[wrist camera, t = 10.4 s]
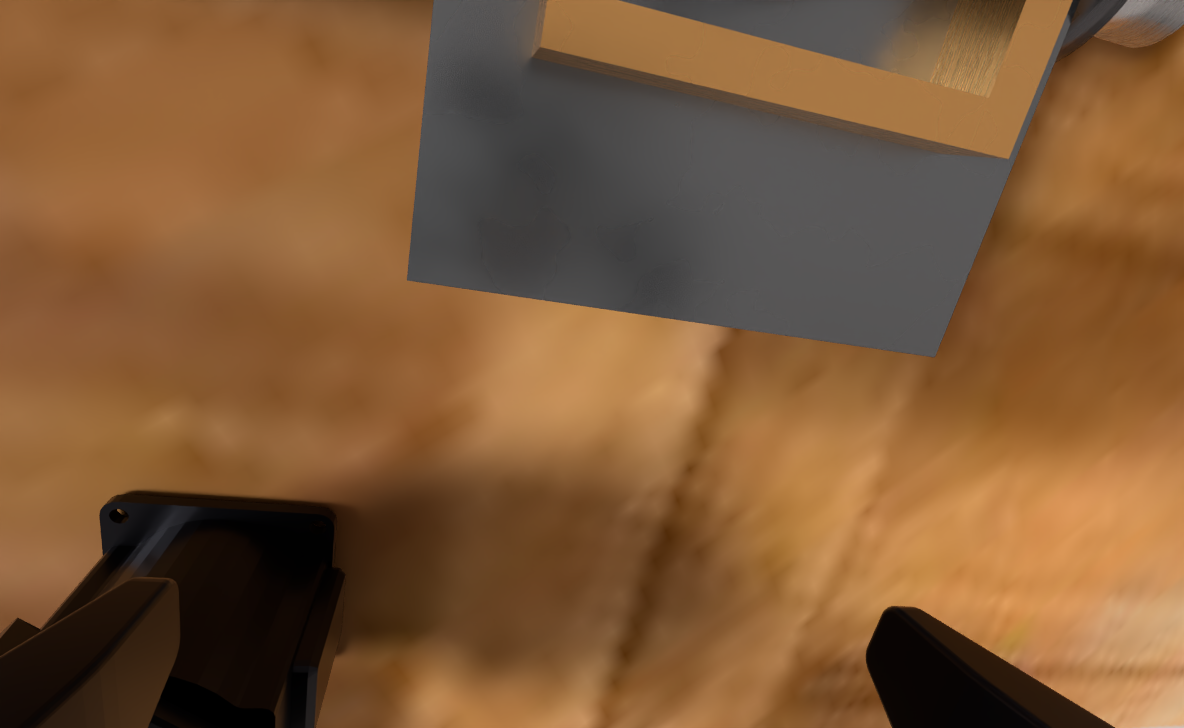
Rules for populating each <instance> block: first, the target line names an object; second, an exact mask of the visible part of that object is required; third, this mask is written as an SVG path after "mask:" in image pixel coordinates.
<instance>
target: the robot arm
mask: <svg viewBox="0 0 1184 728" xmlns="http://www.w3.org/2000/svg"><path fill="white" fill-rule="evenodd" d="M117 509H121V510H124V511H125V512H127V513H128V516H126V515H122V514H120V513H119V512H118V511H117ZM313 521H321V522H323V523H324V524H325V526H322V527H319V526H316V525H315V524H314V523H313ZM100 526H101V538H102V549H103V557H102V558H101V559H100V560H99V561H98V562H97V563H96V565H95V566H94V567H93V568H92V569H91V570H90V572H89V573H88V574H87V575H86V576H85V577H84V579H83V580H82V581H81V582H80V583H79V584H78V586H77V587H76V588H75V589H74V590H73V591H72V593H71V594H70V595H69V596H68V597H67V598H66V600H65V601H64V602H63V603H62V604H61V605H60V607H59V608H58V609H57V610H56V611H55V612H54V614H53V615H52V616H51V617H50V618H49V619H48V621H47V622H46V623H45V624H44V625H43V626H42V627H41V629H39V628H37V627H35V626H33V625H31V624H29V623H27V622H25V621H23V620H21V619H19V618H16V619H15V620H14V621H13V622H12V623H11V624H10V625H9V626H8V627H7V628H6V629H4V630H3V631H2V632H1V633H0V728H316V725H317V721H318V717H319V713H320V710H321V706H322V702H323V699H324V695H325V691H326V687H327V684H328V680H329V676H330V672H331V669H332V665H333V661H334V658H335V654H336V650H337V646H338V643H339V639H340V635H341V631H342V620H343V606H344V593H345V579H346V574H345V573H344V572H343V571H342V569H341V568H335V567H334V560H335V545H336V529H337V518H336V515H335V514H334V512H333V511H331V510H330V509H328V508H324V507H316V506H300V505H285V504H269V503H254V502H238V501H222V500H207V499H191V498H176V497H160V496H145V495H129V494H122V495H116V496H114V497H112V498H111V499H110V500H109V501H108V502H107V503H106V504H105V505H104V506H103V507H102V509H101V510H100ZM866 664H867V668H868V671H869V673H870V676H871V678H872V680H873V683H874V685H875V688H876V690H877V693H878V695H879V697H880V700H881V702H882V705H883V707H884V709H885V712H886V714H887V717H888V719H889V722H890V724H891V726H892V728H1115V727H1113V726H1112V725H1110V724H1108V723H1107V722H1105V721H1103V720H1102V719H1100V718H1098V717H1097V716H1095V715H1093V714H1092V713H1090V712H1089V711H1087V710H1085V709H1084V708H1082V707H1080V706H1079V705H1077V704H1075V703H1074V702H1072V701H1070V700H1069V699H1067V698H1066V697H1064V696H1062V695H1061V694H1059V693H1057V692H1056V691H1054V690H1052V689H1051V688H1049V687H1047V686H1046V685H1044V684H1042V683H1041V682H1039V681H1038V680H1036V679H1034V678H1033V677H1031V676H1029V675H1028V674H1026V673H1024V672H1023V671H1021V670H1019V669H1018V668H1016V667H1015V666H1013V665H1011V664H1010V663H1008V662H1006V661H1005V660H1003V659H1001V658H1000V657H998V656H996V655H995V654H993V653H992V652H990V651H988V650H987V649H985V648H983V647H982V646H980V645H978V644H977V643H975V642H973V641H972V640H970V639H968V638H967V637H965V636H964V635H962V634H960V633H959V632H957V631H955V630H954V629H952V628H950V627H949V626H947V625H945V624H944V623H942V622H941V621H939V620H937V619H936V618H934V617H932V616H931V615H929V614H927V613H926V612H924V611H922V610H921V609H918V608H915V607H905V606H891V607H888V608H887V609H886V610H885V611H884V612H883V613H882V615H881V618H880V620H879V622H878V624H877V627H876V629H875V631H874V633H873V636H872V638H871V640H870V642H869V645H868V647H867V650H866Z"/></svg>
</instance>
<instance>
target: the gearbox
mask: <svg viewBox="0 0 1184 728" xmlns="http://www.w3.org/2000/svg"><path fill="white" fill-rule="evenodd" d="M1183 24H1184V0H434V3H433V13H432V24H431V34H430V45H429V55H428V66H427V76H426V86H425V97H424V107H423V118H422V128H421V139H420V149H419V160H418V170H417V181H416V191H415V201H414V212H413V222H412V233H411V243H410V254H409V264H408V275H407V280H408V281H415V282H422V283H429V284H436V285H443V286H450V287H456V288H463V289H470V290H477V291H484V292H491V293H498V294H504V295H511V296H518V297H525V298H532V299H539V300H545V301H552V302H559V303H566V304H573V305H580V306H587V307H593V308H600V309H607V310H614V311H621V312H628V313H635V314H641V315H648V316H655V317H662V318H669V319H676V320H683V321H689V322H696V323H703V324H710V325H717V326H724V327H731V328H737V329H744V330H751V331H758V332H765V333H772V334H779V335H785V336H792V337H799V338H806V339H813V340H820V341H826V342H833V343H840V344H847V345H854V346H861V347H868V348H874V349H881V350H888V351H895V352H902V353H909V354H916V355H922V356H929V357H935V356H936V353H937V351H938V348H939V346H940V343H941V341H942V338H943V336H944V333H945V331H946V329H947V326H948V324H949V321H950V319H951V316H952V314H953V311H954V309H955V306H956V304H957V302H958V299H959V297H960V294H961V292H962V289H963V287H964V284H965V282H966V279H967V277H968V274H969V272H970V270H971V267H972V265H973V262H974V260H975V257H976V255H977V252H978V250H979V247H980V245H981V243H982V240H983V238H984V235H985V233H986V230H987V228H988V225H989V223H990V220H991V218H992V215H993V213H994V211H995V208H996V206H997V203H998V201H999V198H1000V196H1001V193H1002V191H1003V188H1004V186H1005V184H1006V181H1007V179H1008V176H1009V174H1010V171H1011V169H1012V166H1013V164H1014V161H1015V159H1016V156H1017V154H1018V152H1019V149H1020V147H1021V144H1022V142H1023V139H1024V137H1025V134H1026V132H1027V129H1028V127H1029V125H1030V122H1031V120H1032V117H1033V115H1034V112H1035V110H1036V107H1037V105H1038V102H1039V100H1040V97H1041V95H1042V93H1043V90H1044V88H1045V85H1046V83H1047V80H1048V78H1049V75H1050V73H1051V70H1052V68H1053V66H1054V63H1055V62H1057V61H1059V60H1060V59H1062V58H1064V57H1066V56H1067V55H1069V54H1070V53H1072V52H1073V51H1075V50H1076V49H1078V48H1079V47H1080V46H1082V45H1083V44H1084V43H1086V42H1087V41H1088V40H1089V39H1090V38H1092V37H1096V38H1100V39H1103V40H1106V41H1109V42H1113V43H1116V44H1119V45H1123V46H1126V47H1130V48H1140V47H1145V46H1149V45H1152V44H1154V43H1156V42H1159V41H1161V40H1162V39H1164V38H1166V37H1168V36H1169V35H1171V34H1172V33H1174V32H1175V31H1176V30H1178V29H1179V28H1180V27H1181V26H1182V25H1183Z"/></svg>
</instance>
